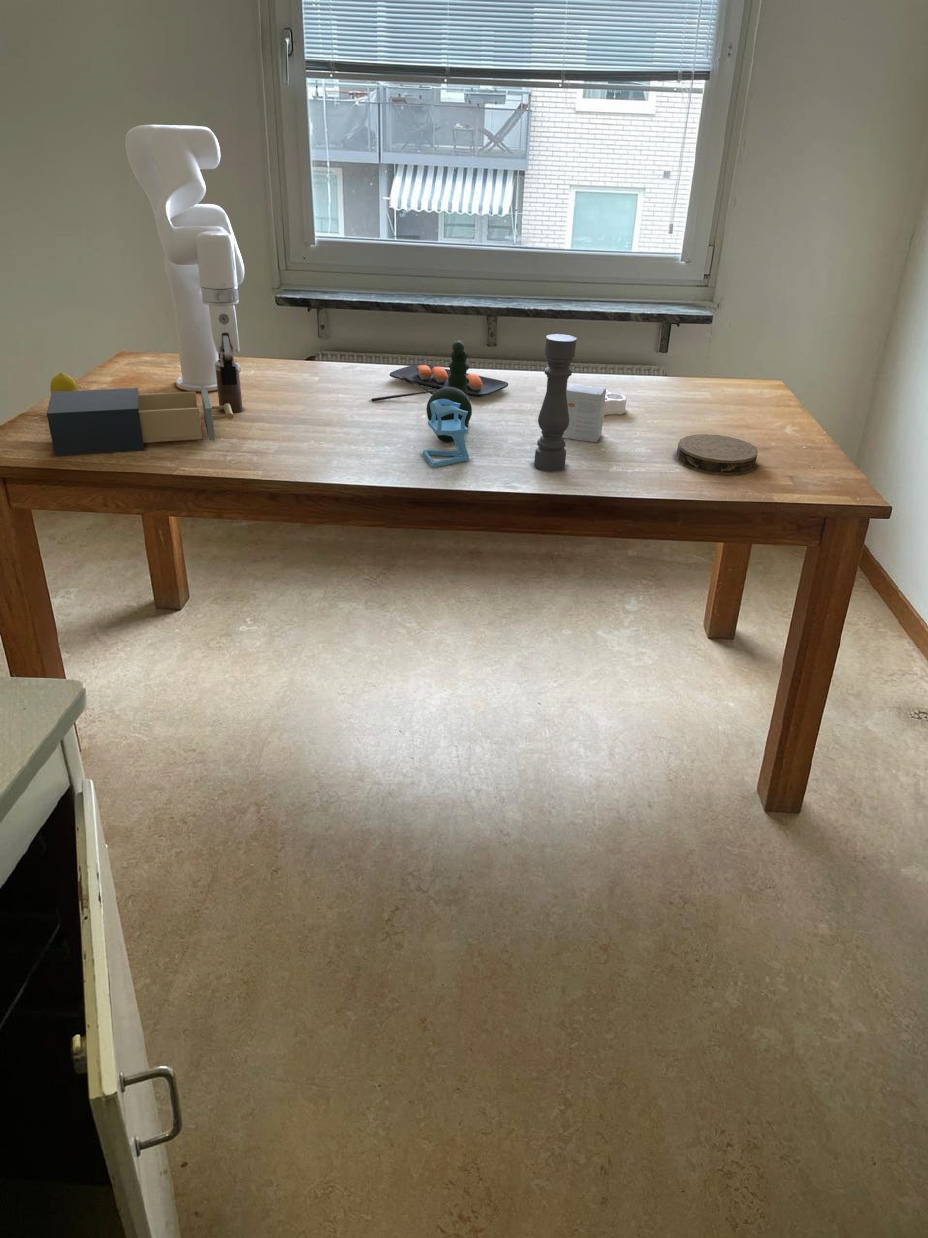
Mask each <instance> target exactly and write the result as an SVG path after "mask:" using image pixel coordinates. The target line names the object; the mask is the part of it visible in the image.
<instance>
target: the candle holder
mask: <svg viewBox="0 0 928 1238" xmlns="http://www.w3.org/2000/svg"><path fill="white" fill-rule="evenodd" d="M544 348H545V349H544V355H545V360H546V362H547V365H548V366H547V367H546V368H544V375H546V378H547V381H546V392H545V394H544V399H543V401H542V404H541V408H540V411H539V414H538V417H537V418H538V419H537V423H538V424H537V425H538V426H539V429H540V430H541V432H540V433H541V434H542V435H541V436H540V437H539V438H538V439H537V443H536V444H537V446H536V447H535V451H534V463H533V466H534V467H535V468H536V469H538V470H540V471H545V472H560V471H563V470H564V469H565V468H566V459H567V449H566V446H567V442H566V441H565V438H563V437H562V436H563V435H564V431H565V430H566V429H567V427H568V425H569V412H568V404H567V396H566V391H567V388H568V380H569V378H570V377H571V376H572V374H573V371H572V369H571V368H570V366H571V364H572V363H573V362H574V358H575V357H576V348H577V337H575V336H573V335H569V334H562V333H561V334H560V333H558V334H557V333H556V334H554V333H553V334H548V335H546V337H545V347H544Z"/></svg>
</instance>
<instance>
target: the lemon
mask: <svg viewBox="0 0 928 1238" xmlns="http://www.w3.org/2000/svg"><path fill="white" fill-rule="evenodd" d="M49 386H50V387H49V390H50V394H51V393H52V392H60V391H79V389H78V385H77V383H76V381H75V379H74V378H73V377H71V376H70V375H68V374H65V373H63V372H59V373H58V374H56V375H55V376H54V377H52V379H51V381H50V385H49Z"/></svg>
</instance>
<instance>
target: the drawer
mask: <svg viewBox="0 0 928 1238" xmlns="http://www.w3.org/2000/svg"><path fill="white" fill-rule="evenodd" d="M196 392H197V391H179V392H178V391H176V392H159V393H158V392H156V393H139V394H138V402H139V415H140V422H141V429H142V436H143V443H144V444H145V443H159V442H160V443H161V442H176V441H177V442H178V441H193V440H194V441H195V440H203V433H202V432H203V431H202V422H201V414H200V413H201V412H200V408H199V407H198V403H197V394H196ZM200 393H201V403H202V411H203V418H204V419H203V421H204V425H205V430H206V434H207V438H208V441H209V442H210V441H212V442H213V441H216V435H215V426H214V420H215V419H227V420H228V421H232V420H233V419H234V417H235V416H234V413H233V412H232V409H231V406H230V404H228V403H226V404H224V406H219V405H212V404H211V400H210V397H209V391H207V389H206V390H201V391H200ZM220 409H224V410H225V413H224V414H223V413H222V414H213V411H214V410H220Z"/></svg>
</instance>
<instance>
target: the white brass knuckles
mask: <svg viewBox="0 0 928 1238" xmlns="http://www.w3.org/2000/svg"><path fill="white" fill-rule="evenodd" d="M626 406H627V397H626V396H625V395H624V394H621V393H615V392H611V391H609V390H608V389H607V388H606V396H605V405H604V415H603V417H604V416H607V415H619V416H620V415H624V413H626Z"/></svg>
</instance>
